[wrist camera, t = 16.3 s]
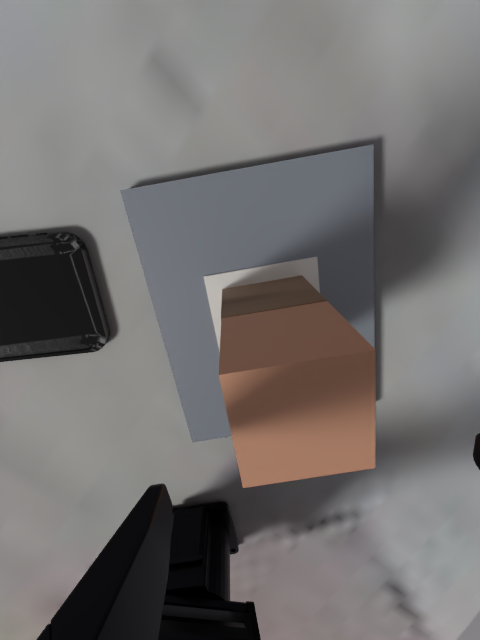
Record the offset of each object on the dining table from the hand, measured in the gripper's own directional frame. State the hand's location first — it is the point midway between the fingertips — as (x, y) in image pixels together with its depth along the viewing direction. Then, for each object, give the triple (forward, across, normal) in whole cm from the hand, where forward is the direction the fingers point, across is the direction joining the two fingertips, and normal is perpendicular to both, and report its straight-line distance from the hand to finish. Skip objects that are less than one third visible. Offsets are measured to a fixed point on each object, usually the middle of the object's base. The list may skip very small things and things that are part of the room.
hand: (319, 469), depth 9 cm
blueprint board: (+13, 0, 0) cm, 13 cm away
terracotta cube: (+7, 0, 0) cm, 7 cm away
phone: (+14, +18, -4) cm, 23 cm away
